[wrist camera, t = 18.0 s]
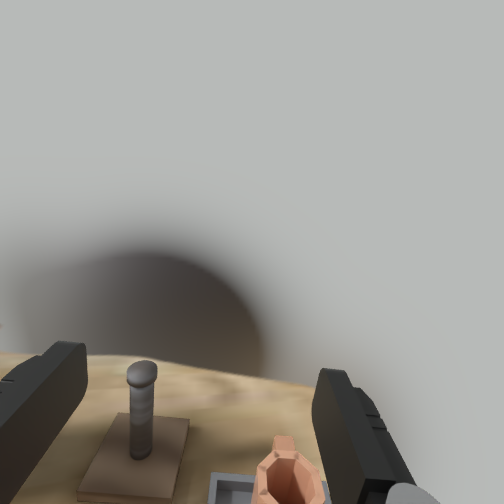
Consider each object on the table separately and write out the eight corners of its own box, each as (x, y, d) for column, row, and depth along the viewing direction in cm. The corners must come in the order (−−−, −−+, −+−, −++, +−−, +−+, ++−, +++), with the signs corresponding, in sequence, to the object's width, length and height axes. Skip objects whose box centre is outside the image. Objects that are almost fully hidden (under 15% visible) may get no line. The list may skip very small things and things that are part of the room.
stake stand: (170, 507, 31) (176, 411, 27) (77, 500, 31) (69, 401, 27) (188, 427, 41) (195, 347, 37) (118, 420, 40) (117, 339, 36)
